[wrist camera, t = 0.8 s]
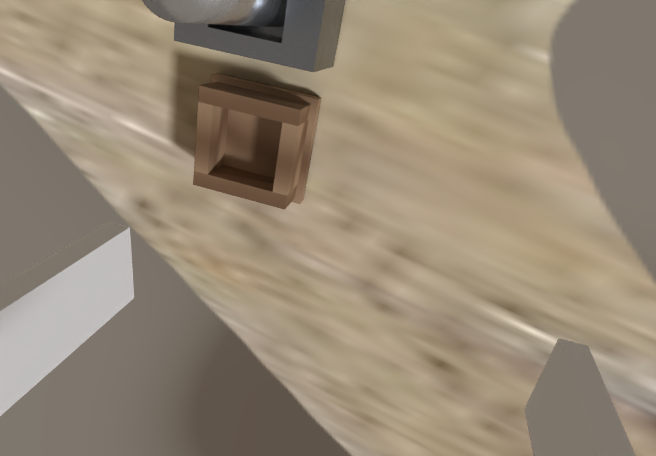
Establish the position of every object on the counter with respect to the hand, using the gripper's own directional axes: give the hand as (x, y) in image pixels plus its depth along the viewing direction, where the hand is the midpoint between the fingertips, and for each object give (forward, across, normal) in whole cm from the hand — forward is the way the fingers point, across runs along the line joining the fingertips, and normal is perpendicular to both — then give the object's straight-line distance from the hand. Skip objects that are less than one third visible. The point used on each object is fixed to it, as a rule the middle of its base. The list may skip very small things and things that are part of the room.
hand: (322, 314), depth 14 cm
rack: (+25, -11, -3) cm, 27 cm away
